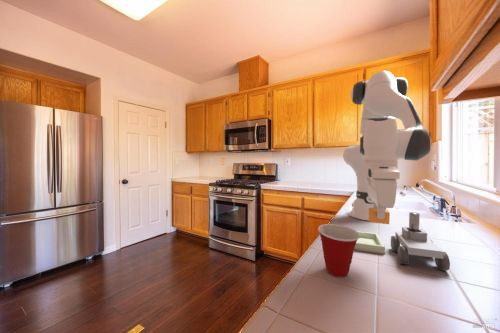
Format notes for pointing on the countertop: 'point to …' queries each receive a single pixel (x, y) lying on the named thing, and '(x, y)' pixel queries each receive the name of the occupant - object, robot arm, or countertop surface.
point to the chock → (374, 219)
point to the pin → (414, 221)
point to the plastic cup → (338, 248)
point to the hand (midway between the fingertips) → (378, 216)
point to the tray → (369, 243)
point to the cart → (418, 247)
